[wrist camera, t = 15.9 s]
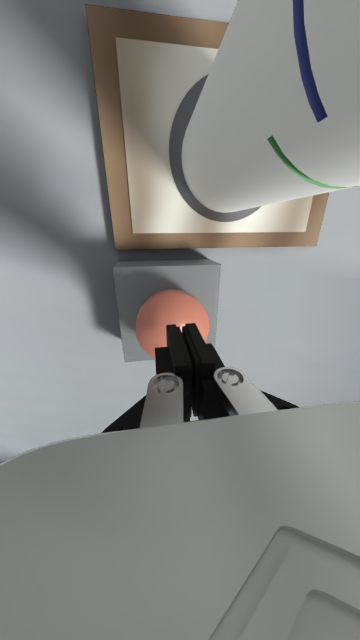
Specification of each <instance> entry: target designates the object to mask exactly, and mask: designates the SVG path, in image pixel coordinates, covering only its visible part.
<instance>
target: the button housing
mask: <svg viewBox="0 0 360 640" xmlns="http://www.w3.org/2000/svg"><path fill="white" fill-rule="evenodd" d="M220 269H221V264H219V263H216V262H214V261H212V260H210V259H178V260H139V261H118V262H117V263H116V264H115V265H114V266H113V267H112V270H113V278H114V285H115V293H116V300H117V308H118V315H119V323H120V330H121V338H122V345H123V353H124V360H125V362H132V361H143V360H154V359H155V358H154V357H152V356H150V355H149V354H148V353H146V352H145V351H144V350H143V349H142V347H141V346H140V344H139V342H138V340H137V337H136V320H137V315H138V311H139V309H140V307H141V306H142V304H143V303H144V302H145V301H146V300H147V299H148V298H149V297H150V296H152V295H153V294H155V293H157V292H160V291H163V290H169V289H176V290H182V291H185V292H187V293H189V294H191V295H193V296H194V297H195V298H196V299H197V300H198V301H199V302H200V304H201V305H202V306H203V308H204V309H205V311H206V313H207V315H208V318H209V333H208V336H207V339H206V341H205V343H206V344H207V343H211V344H212V345H213V347H214V348H215V339H216V325H217V311H218V297H219V283H220Z"/></svg>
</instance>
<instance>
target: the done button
mask: <svg viewBox="0 0 360 640" xmlns="http://www.w3.org/2000/svg"><path fill="white" fill-rule="evenodd" d="M187 323H195V324H196V326H197V328H198V330H199V331H200V333H201V335H202V337H203V339H204V341H206V339H207V336H208V333H209V318H208V315H207V313H206V311H205V309H204V308H203V306H202V305H201V304H200V302H199V301H198V300H197V299H196V298H195V297H194V296H193V295H191V294H189V293H187V292H185V291H182V290H176V289H169V290H163V291H160V292H157V293H155V294H153V295H152V296H150V297H149V298H148V299H147V300H146V301H145V302H144V303H143V304H142V306H141V307H140V309H139V311H138V315H137V320H136V337H137V340H138V342H139V344H140V346H141V347H142V349H143V350H144V351H145V352H146V353H148V354H149V355H150V356H152V357H154V358H155V348H157V347H167V337H166V325H171V324H176V327H178V326H180V329H181V332H182V326H185V324H187Z"/></svg>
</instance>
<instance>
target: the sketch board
mask: <svg viewBox="0 0 360 640" xmlns="http://www.w3.org/2000/svg"><path fill="white" fill-rule="evenodd" d="M85 6H86V15H87V23H88V31H89V39H90V47H91V55H92V63H93V71H94V80H95V88H96V96H97V104H98V112H99V120H100V128H101V136H102V145H103V153H104V161H105V169H106V177H107V185H108V193H109V201H110V210H111V218H112V226H113V234H114V242H115V250H121V249H176V248H232V247H288V246H316V245H317V241H318V237H319V233H320V229H321V225H322V220H323V216H324V212H325V208H326V204H327V200H328V196H329V192H327V193H322V194H318V195H313V196H308V197H303V198H298V199H294V200H289V201H284V202H279V203H274V204H269V205H265V206H260V207H255V208H250V209H245V210H240V211H236V212H228V213H223V212H216V211H213V210H211V209H208V208H207V207H205V206H204V205H203V204H201V203H200V202H199V201H198V200H197V199H196V198H195V197H194V195H193V194H192V192H191V191H190V189H189V187H188V185H187V183H186V180H185V177H184V173H183V169H182V157H181V155H182V143H183V139H184V136H185V132H186V129H187V126H188V124H189V121H190V119H191V116H192V114H193V111H194V109H195V106H196V104H197V102H198V99H199V97H200V94H201V92H202V89H203V87H204V84H205V82H206V79H207V77H208V74H209V72H210V69H211V67H212V64H213V62H214V59H215V57H216V55H217V52H218V50H219V47H220V45H221V42H222V40H223V37H224V34H225V32H226V29H227V27H228V24H229V23H223V22H216V21H208V20H201V19H193V18H186V17H178V16H170V15H163V14H155V13H148V12H140V11H133V10H125V9H118V8H110V7H103V6H95V5H88V4H85Z"/></svg>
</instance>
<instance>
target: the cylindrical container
mask: <svg viewBox="0 0 360 640" xmlns="http://www.w3.org/2000/svg"><path fill="white" fill-rule="evenodd" d="M181 157H182V169H183V173H184V177H185V180H186V183H187V185H188V187H189V189H190V191H191V192H192V194H193V195H194V197H195V198H196V199H197V200H198V201H199V202H200V203H201V204H203V205H204V206H205V207H207V208H208V209H211V210H213V211H216V212H223V213H228V212H236V211H240V210H245V209H250V208H255V207H260V206H265V205H269V204H274V203H279V202H284V201H289V200H294V199H298V198H303V197H308V196H313V195H318V194H322V193H327V192H332V191H337V190H342V189H347V188H351V187H356V186H359V185H360V0H238V2H237V4H236V7H235V9H234V12H233V14H232V17H231V19H230V22H229V24H228V27H227V29H226V32H225V34H224V37H223V40H222V42H221V45H220V47H219V50H218V52H217V55H216V57H215V59H214V62H213V64H212V67H211V69H210V72H209V74H208V77H207V79H206V82H205V84H204V87H203V89H202V92H201V94H200V97H199V99H198V102H197V104H196V106H195V109H194V111H193V114H192V116H191V119H190V121H189V124H188V126H187V129H186V132H185V136H184V139H183V143H182V155H181Z"/></svg>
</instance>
